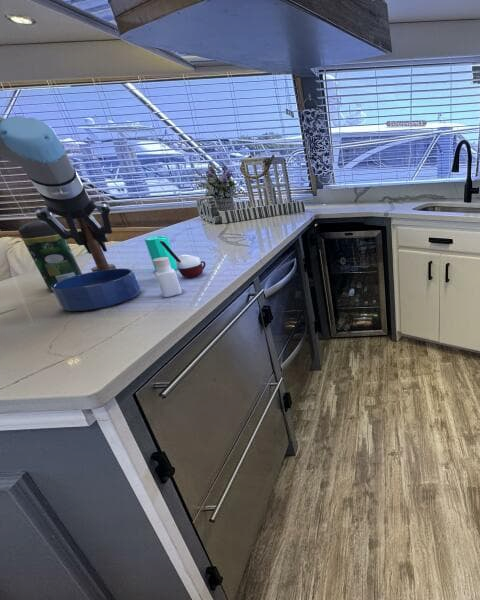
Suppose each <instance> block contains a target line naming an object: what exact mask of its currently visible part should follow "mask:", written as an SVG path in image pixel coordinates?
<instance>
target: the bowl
mask: <svg viewBox="0 0 480 600" xmlns="http://www.w3.org/2000/svg"><path fill="white" fill-rule="evenodd" d="M51 288H52V290H53V291H52V290H51V291H52V292H53V294H54V297H55V298H56V300H57V303H58V304H59V307H60V308H61V309H62V310H64V311H68V312H78V311H81V312H82V311H94V310H97V309H98V310H99V309H103V308H108V307H111V306H114V305H118V304H120V303H124V302H125V301H128V300H130V299H132V298H133V297H136V296H137V295H139V294H140V293H141V287H140V285H139V282H138V279H137V277H136V274H135V271H134V269H131V268H123V267H121V268H116V269H108V270H100V271H95V272H92V271H90V272H85V273H82V274H80V275H76V276H73V277H69V278H66V279H63V280H61V281H58V282H56V283H54V284H53V285H52V286H51Z"/></svg>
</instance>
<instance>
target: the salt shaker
mask: <svg viewBox="0 0 480 600" xmlns="http://www.w3.org/2000/svg"><path fill="white" fill-rule="evenodd" d="M153 263H154V265H153V267H154V266H155V268H156V270H157V272H156V270H155V272H154V274H155V278H156V281H157V282H158V286H159V288H160V291H161V294H162V296H163V297H164V298H169V297H173V296H178V295H181V294H182V293H183V290H182V287H181V285H180V282H179V278H178V275H177V273H176V270H174V269H171V266H170V262H169V259H168V258H167V257H162V258H156V259H154V260H153V262H152V264H153ZM155 268H154V269H155Z"/></svg>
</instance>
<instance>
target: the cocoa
mask: <svg viewBox="0 0 480 600" xmlns="http://www.w3.org/2000/svg"><path fill="white" fill-rule="evenodd" d="M160 243H161V244H162V245H163V246H164V247H165V249H166V250H167V251H168V252H169V253H170V254H171V255H172V257H173V258H174V259H175V262H176V265H177V269H178V272H179V273H180V275H181V276H182V277H184V278H185V279H195V278H198V277H200V276H201V275H202V274H203V272H204V270H205V267H206V262H205V261H204V260H201V258H200V257H199V256H194V255H189V254H181V255H179V256H177V255H176V254H175V252H173V250H171V249H172V248H171V249H170V248H169V247H168V246H167V245H166V244H165V242H163V241H160Z"/></svg>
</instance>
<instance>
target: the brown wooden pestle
mask: <svg viewBox="0 0 480 600" xmlns="http://www.w3.org/2000/svg"><path fill="white" fill-rule="evenodd" d="M75 221H76V222H77V224H78V226H79V227H78V228H79V229H80V231H82V234H83V236H84V238H85V241H86V243H87V245H88V247H89V250H90V252H91V254H90V255H91V257H92V259H93V261H94V264H95V266H94V267H91V272H95V271H100V270H108V269H117V267H116V265H115V264H114V263H108V261H107V259H106V256H105V253H104V251H103V249H102V248H101V246H100V244H99V242H98V241H97V239H96V237H95V233H94V230H93V229H92V227H91V226H90V225H89V224H88V223H87V222H86V221H85V220H84V219H83V218H77V219H75Z"/></svg>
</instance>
